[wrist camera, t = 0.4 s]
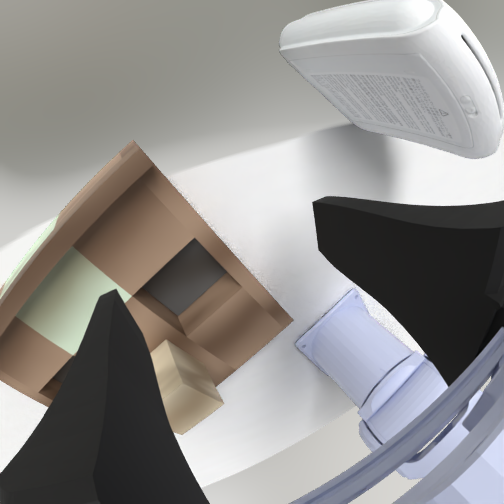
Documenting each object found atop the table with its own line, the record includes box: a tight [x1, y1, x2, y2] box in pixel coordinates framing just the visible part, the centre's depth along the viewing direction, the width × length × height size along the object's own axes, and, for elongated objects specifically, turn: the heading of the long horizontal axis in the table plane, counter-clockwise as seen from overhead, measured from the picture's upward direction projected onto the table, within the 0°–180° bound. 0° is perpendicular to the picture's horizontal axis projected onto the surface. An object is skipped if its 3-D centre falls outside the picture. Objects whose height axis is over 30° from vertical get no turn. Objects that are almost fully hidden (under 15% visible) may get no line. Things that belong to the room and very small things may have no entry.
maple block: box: [150, 340, 224, 435], centre depth 19 cm, size 4×4×4 cm
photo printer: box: [279, 0, 504, 159], centre depth 14 cm, size 10×4×12 cm, turn 55°
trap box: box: [0, 140, 293, 407], centre depth 19 cm, size 17×18×4 cm
